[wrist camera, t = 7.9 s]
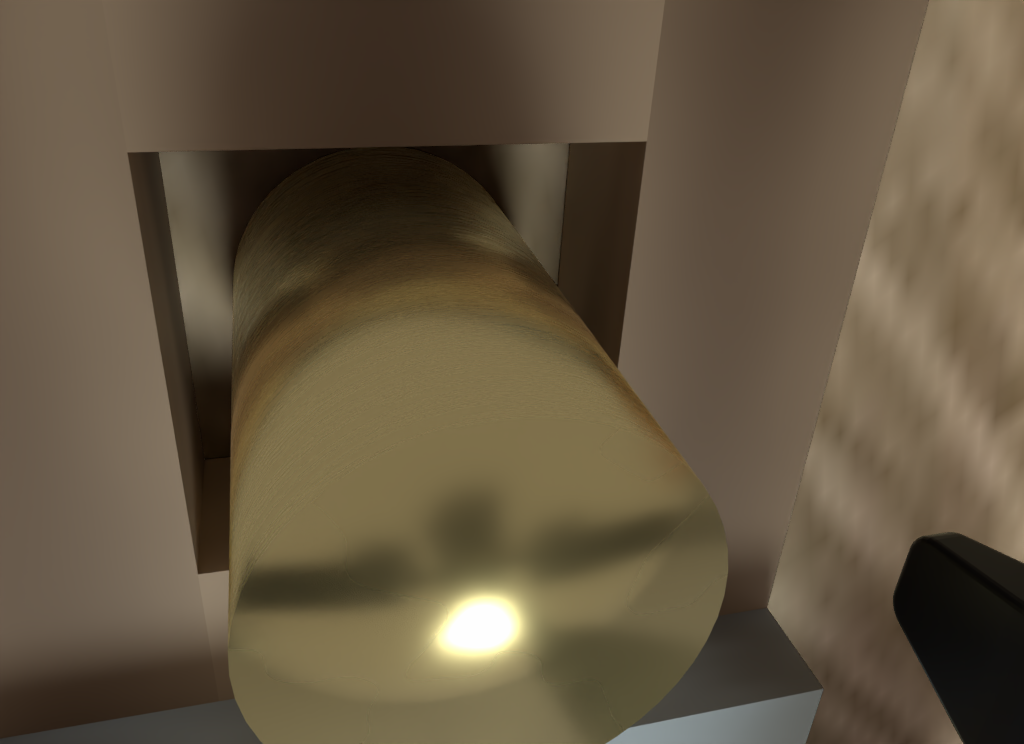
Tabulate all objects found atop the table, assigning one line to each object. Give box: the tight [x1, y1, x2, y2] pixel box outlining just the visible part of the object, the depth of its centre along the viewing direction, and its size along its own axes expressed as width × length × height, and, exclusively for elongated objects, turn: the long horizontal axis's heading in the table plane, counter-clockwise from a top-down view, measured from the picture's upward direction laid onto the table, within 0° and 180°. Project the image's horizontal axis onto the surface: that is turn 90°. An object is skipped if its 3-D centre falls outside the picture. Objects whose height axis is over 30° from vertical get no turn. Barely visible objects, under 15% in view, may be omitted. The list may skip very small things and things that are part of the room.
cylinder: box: [228, 147, 728, 744], centre depth 12 cm, size 5×5×8 cm
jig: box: [0, 0, 929, 744], centre depth 13 cm, size 14×14×5 cm
